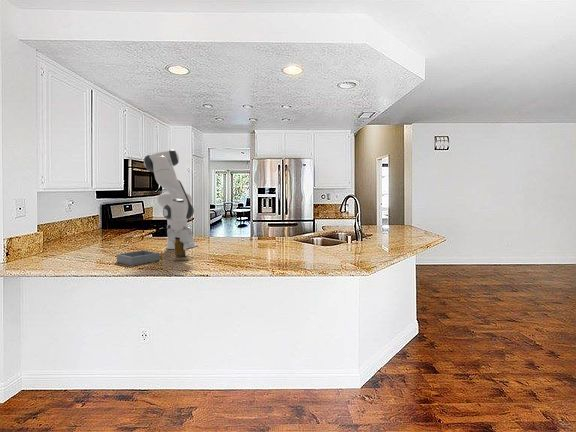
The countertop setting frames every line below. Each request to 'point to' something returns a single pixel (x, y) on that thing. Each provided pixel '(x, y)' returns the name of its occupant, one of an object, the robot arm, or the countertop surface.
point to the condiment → (179, 249)
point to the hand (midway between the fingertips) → (180, 249)
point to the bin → (137, 257)
